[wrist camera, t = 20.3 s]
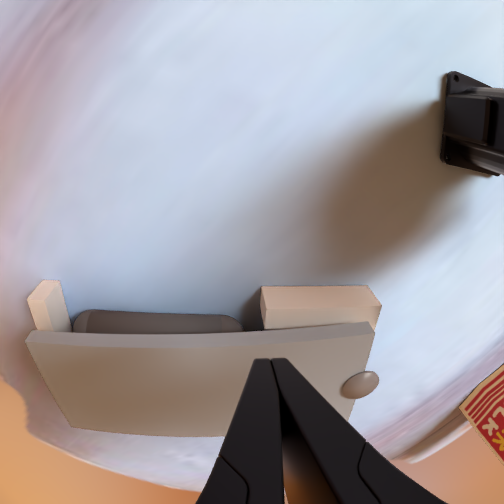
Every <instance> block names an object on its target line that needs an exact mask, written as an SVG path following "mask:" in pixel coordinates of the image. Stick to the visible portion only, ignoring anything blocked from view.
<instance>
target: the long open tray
mask: <svg viewBox="0 0 504 504" xmlns="http://www.w3.org/2000/svg"><path fill="white" fill-rule="evenodd" d="M27 301H28V304H29V307H30V311H31V314H32V317H33V320H34V323H35V325H36V328H37V330H38V331H53V332H70V333H73V329H72V325H71V322H70V319H69V315H68V311H67V308H66V304H65V300H64V296H63V292H62V288H61V283H60V281H56V280H42V281H41V283H40V284H39V285H38V286H37V287H36V289H35V290H34V291H33V292H32V293H31V295H30V296H29V297H28V298H27ZM381 307H382V305H381V303H380V302H379V301H378V299H377V298H376V297H375V295H374V294H373V292H372V291H371V290H370V288H369V287H368V286H367V285H358V286H262V287H261V299H260V309H261V314H262V319H263V324H264V329H296V328H308V327H319V326H329V325H339V324H348V323H357V322H365V321H368V322H369V324H370V325H371V327H372V329H373V330H375V327H376V323H377V320H378V317H379V314H380V310H381Z"/></svg>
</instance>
